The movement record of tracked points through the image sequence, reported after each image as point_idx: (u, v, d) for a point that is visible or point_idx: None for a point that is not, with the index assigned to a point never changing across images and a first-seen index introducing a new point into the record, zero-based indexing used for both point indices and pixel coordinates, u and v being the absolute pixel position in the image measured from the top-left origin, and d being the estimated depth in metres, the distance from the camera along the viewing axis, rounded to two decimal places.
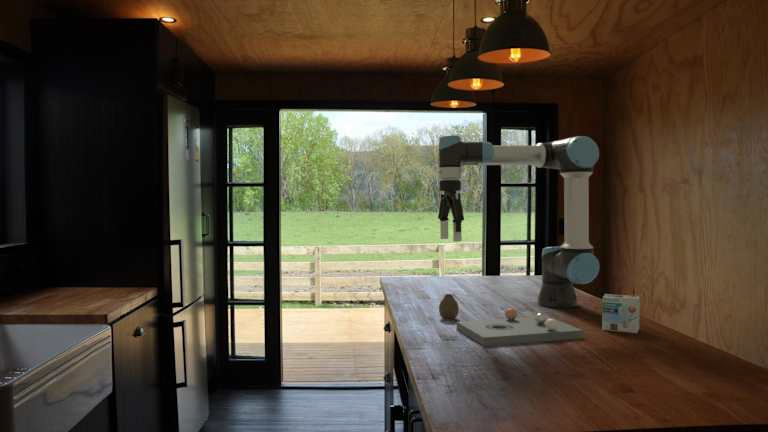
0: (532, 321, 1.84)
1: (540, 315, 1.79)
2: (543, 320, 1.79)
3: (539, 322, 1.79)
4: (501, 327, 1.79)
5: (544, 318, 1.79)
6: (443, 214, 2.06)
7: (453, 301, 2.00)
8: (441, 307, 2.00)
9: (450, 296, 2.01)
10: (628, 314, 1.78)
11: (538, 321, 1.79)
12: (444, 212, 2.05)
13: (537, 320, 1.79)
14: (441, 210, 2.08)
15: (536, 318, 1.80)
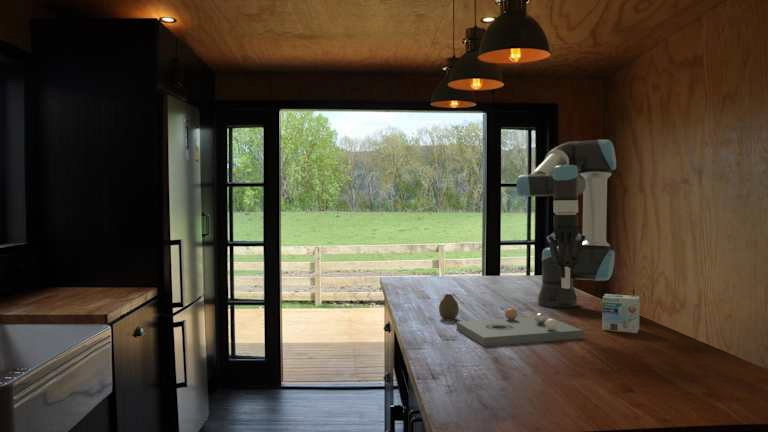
0: (532, 321, 1.84)
1: (540, 315, 1.79)
2: (543, 320, 1.79)
3: (539, 322, 1.79)
4: (501, 327, 1.79)
5: (544, 318, 1.79)
6: (566, 256, 1.83)
7: (453, 301, 2.00)
8: (441, 307, 2.00)
9: (450, 296, 2.01)
10: (628, 314, 1.78)
11: (538, 321, 1.79)
12: (566, 253, 1.82)
13: (537, 320, 1.79)
14: (573, 253, 1.83)
15: (536, 318, 1.80)
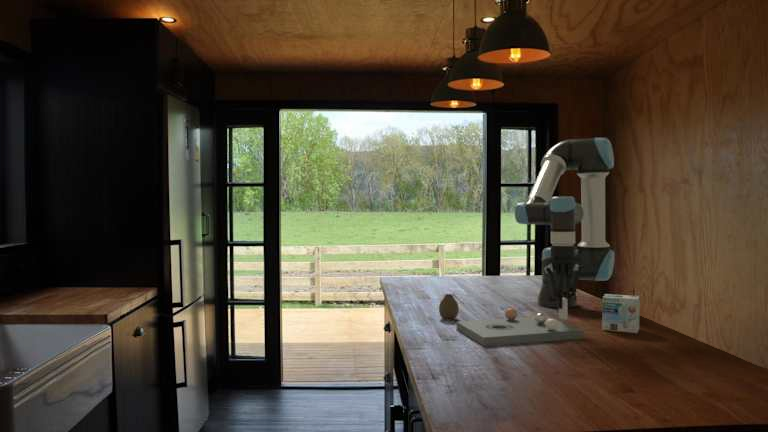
0: (532, 321, 1.84)
1: (540, 315, 1.79)
2: (543, 320, 1.79)
3: (539, 322, 1.79)
4: (501, 327, 1.79)
5: (544, 318, 1.79)
6: (563, 287, 1.83)
7: (453, 301, 2.00)
8: (441, 307, 2.00)
9: (450, 296, 2.01)
10: (628, 314, 1.78)
11: (538, 321, 1.79)
12: (564, 284, 1.82)
13: (537, 320, 1.79)
14: (570, 283, 1.83)
15: (536, 318, 1.80)
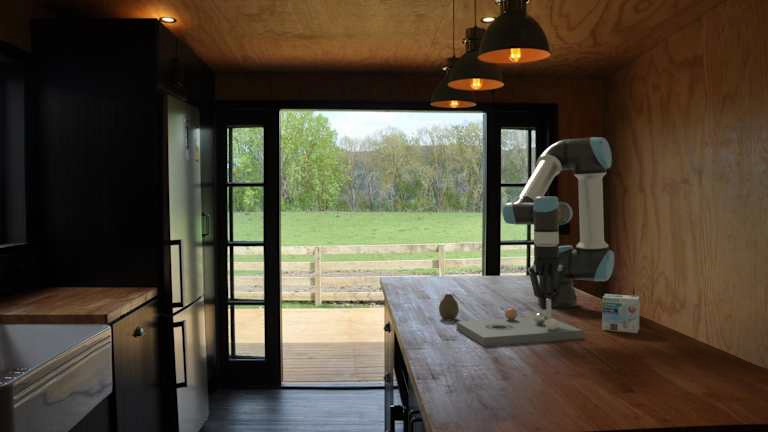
0: (532, 321, 1.84)
1: (539, 315, 1.79)
2: (542, 320, 1.79)
3: (539, 322, 1.79)
4: (501, 327, 1.79)
5: (543, 318, 1.79)
6: (547, 287, 1.81)
7: (453, 301, 2.00)
8: (441, 307, 2.00)
9: (450, 296, 2.01)
10: (628, 314, 1.78)
11: (538, 322, 1.79)
12: (547, 284, 1.81)
13: (537, 321, 1.79)
14: (554, 284, 1.82)
15: (535, 319, 1.79)
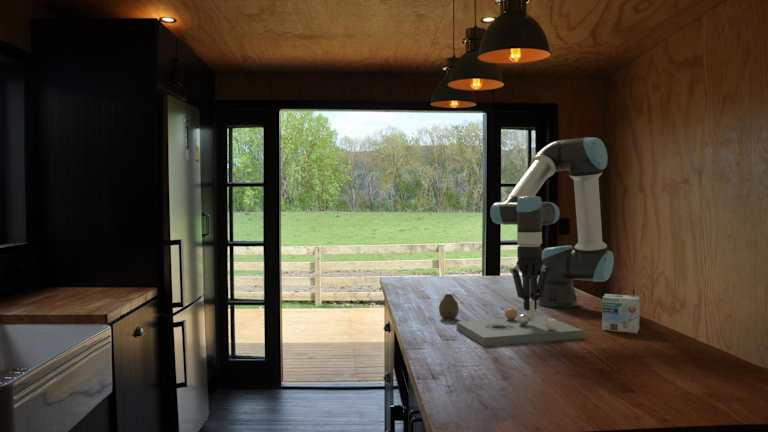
0: (532, 321, 1.84)
1: (525, 324, 1.78)
2: (526, 320, 1.77)
3: (528, 318, 1.78)
4: (501, 327, 1.79)
5: (523, 321, 1.77)
6: (530, 288, 1.80)
7: (453, 301, 2.00)
8: (441, 307, 2.00)
9: (450, 296, 2.01)
10: (628, 314, 1.78)
11: (528, 319, 1.78)
12: (531, 285, 1.80)
13: (528, 320, 1.79)
14: (538, 284, 1.80)
15: None
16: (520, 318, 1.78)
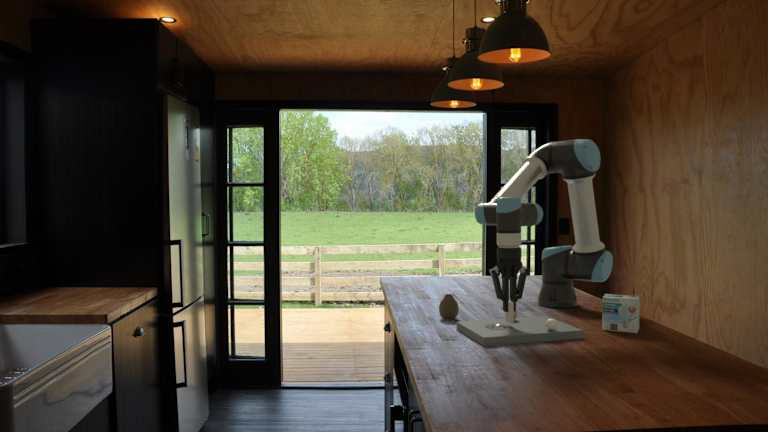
0: (532, 321, 1.84)
1: None
2: None
3: None
4: None
5: None
6: (510, 289, 1.78)
7: (453, 301, 2.00)
8: (441, 307, 2.00)
9: (450, 296, 2.01)
10: (628, 314, 1.78)
11: None
12: (510, 286, 1.78)
13: None
14: (517, 286, 1.79)
15: None
16: (499, 325, 1.76)
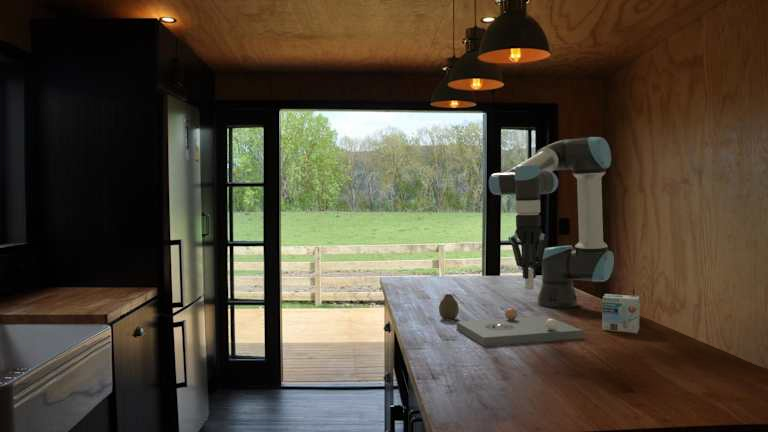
0: (532, 321, 1.84)
1: None
2: None
3: None
4: None
5: None
6: (529, 256, 1.80)
7: (453, 301, 2.00)
8: (441, 307, 2.00)
9: (450, 296, 2.01)
10: (628, 314, 1.78)
11: None
12: (530, 253, 1.80)
13: None
14: (537, 253, 1.81)
15: None
16: (501, 325, 1.76)
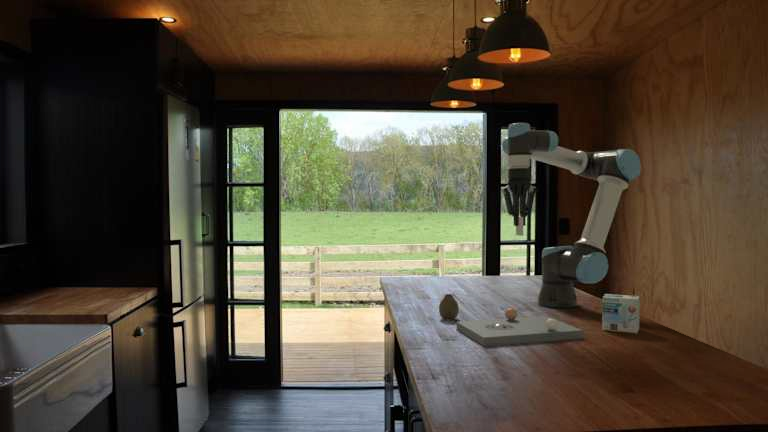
0: (532, 321, 1.84)
1: None
2: None
3: None
4: None
5: None
6: (520, 206, 2.00)
7: (453, 301, 2.00)
8: (441, 307, 2.00)
9: (450, 296, 2.01)
10: (628, 314, 1.78)
11: None
12: (520, 204, 2.00)
13: None
14: (526, 203, 2.01)
15: None
16: (498, 325, 1.76)
